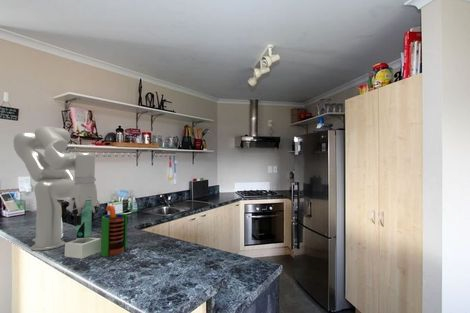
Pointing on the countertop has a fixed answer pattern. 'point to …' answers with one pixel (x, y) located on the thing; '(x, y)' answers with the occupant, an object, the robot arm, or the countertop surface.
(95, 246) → the square frame
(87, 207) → the spray can
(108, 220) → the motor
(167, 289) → the countertop surface
